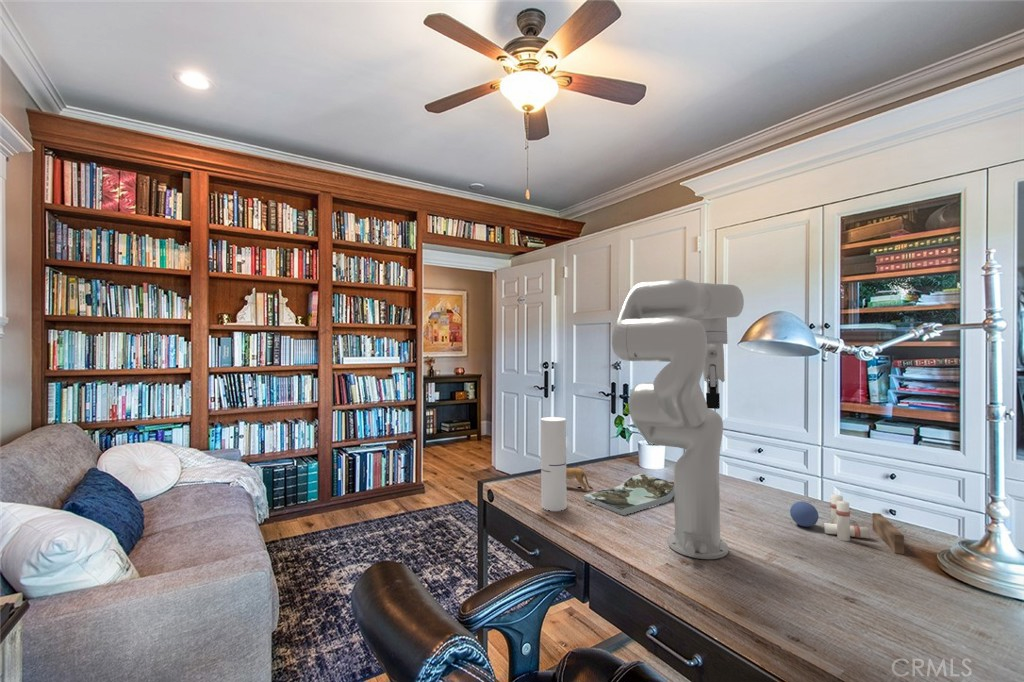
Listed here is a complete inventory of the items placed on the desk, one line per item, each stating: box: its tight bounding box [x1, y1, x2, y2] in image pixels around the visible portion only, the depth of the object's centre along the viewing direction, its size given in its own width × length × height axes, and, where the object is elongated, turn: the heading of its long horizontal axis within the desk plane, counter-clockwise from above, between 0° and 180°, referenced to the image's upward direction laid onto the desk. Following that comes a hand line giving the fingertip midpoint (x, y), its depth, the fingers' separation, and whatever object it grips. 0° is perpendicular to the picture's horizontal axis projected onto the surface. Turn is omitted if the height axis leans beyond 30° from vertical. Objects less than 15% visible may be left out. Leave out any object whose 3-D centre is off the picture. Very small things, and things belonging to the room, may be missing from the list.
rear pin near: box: [836, 500, 851, 542], centre depth 105 cm, size 3×3×8 cm
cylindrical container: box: [540, 416, 568, 512], centre depth 129 cm, size 7×7×25 cm
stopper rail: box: [872, 512, 905, 555], centre depth 104 cm, size 14×2×4 cm, turn 157°
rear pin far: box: [829, 493, 844, 524], centre depth 110 cm, size 3×3×8 cm
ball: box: [789, 500, 819, 528], centre depth 113 cm, size 6×6×6 cm
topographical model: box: [583, 473, 674, 516], centre depth 135 cm, size 26×15×5 cm, turn 123°
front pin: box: [823, 522, 871, 539], centre depth 107 cm, size 3×3×8 cm
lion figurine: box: [566, 465, 594, 492], centre depth 145 cm, size 15×5×9 cm, turn 72°
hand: (712, 408), depth 119 cm, fingers closed
